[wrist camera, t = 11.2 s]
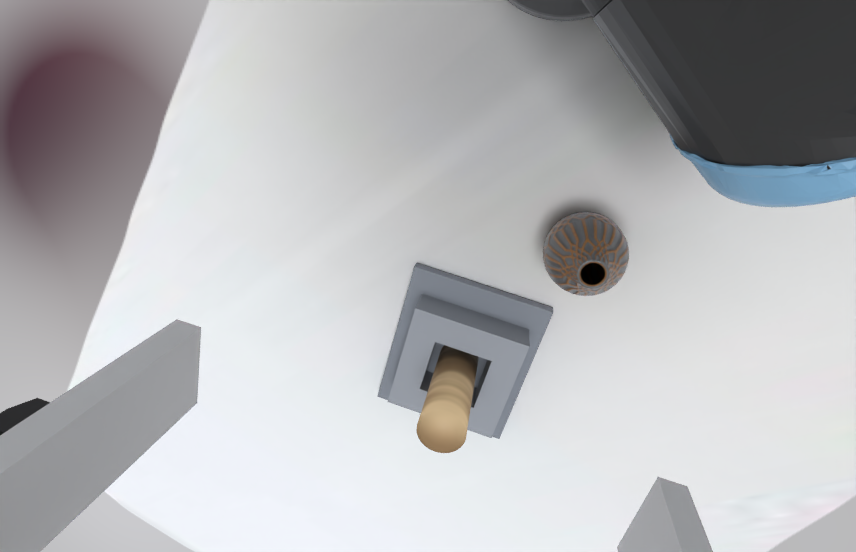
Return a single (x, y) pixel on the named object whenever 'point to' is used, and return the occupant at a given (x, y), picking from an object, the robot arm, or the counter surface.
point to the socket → (464, 343)
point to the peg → (448, 401)
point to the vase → (585, 253)
